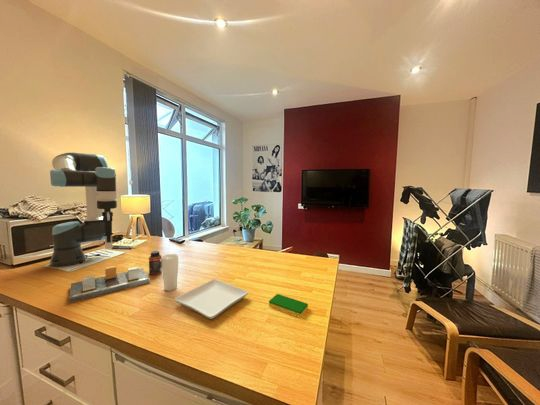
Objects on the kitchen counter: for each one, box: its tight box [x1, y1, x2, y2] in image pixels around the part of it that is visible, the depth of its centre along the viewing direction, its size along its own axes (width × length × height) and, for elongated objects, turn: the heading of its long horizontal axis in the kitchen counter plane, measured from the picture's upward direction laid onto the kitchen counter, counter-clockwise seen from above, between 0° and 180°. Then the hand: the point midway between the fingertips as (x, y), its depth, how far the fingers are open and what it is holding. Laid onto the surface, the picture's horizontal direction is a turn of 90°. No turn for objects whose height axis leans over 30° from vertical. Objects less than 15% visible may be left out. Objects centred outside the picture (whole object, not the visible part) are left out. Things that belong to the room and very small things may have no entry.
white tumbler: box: [161, 253, 179, 292], centre depth 96 cm, size 7×7×15 cm
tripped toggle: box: [104, 265, 117, 279], centre depth 101 cm, size 2×4×5 cm, turn 131°
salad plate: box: [174, 278, 249, 320], centre depth 87 cm, size 21×21×3 cm
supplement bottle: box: [148, 250, 163, 276], centre depth 113 cm, size 6×6×11 cm
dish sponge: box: [268, 293, 309, 318], centre depth 84 cm, size 7×14×2 cm, turn 58°
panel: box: [68, 266, 151, 304], centre depth 99 cm, size 16×28×7 cm, turn 131°
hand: (108, 248), depth 104 cm, fingers closed
